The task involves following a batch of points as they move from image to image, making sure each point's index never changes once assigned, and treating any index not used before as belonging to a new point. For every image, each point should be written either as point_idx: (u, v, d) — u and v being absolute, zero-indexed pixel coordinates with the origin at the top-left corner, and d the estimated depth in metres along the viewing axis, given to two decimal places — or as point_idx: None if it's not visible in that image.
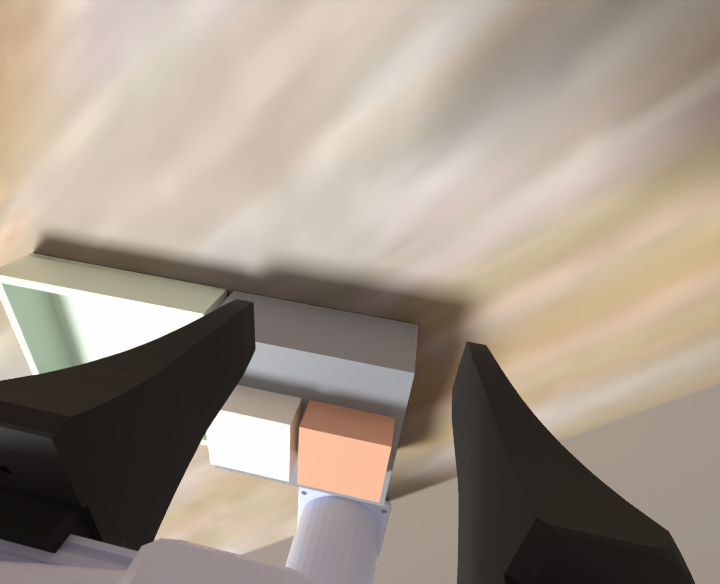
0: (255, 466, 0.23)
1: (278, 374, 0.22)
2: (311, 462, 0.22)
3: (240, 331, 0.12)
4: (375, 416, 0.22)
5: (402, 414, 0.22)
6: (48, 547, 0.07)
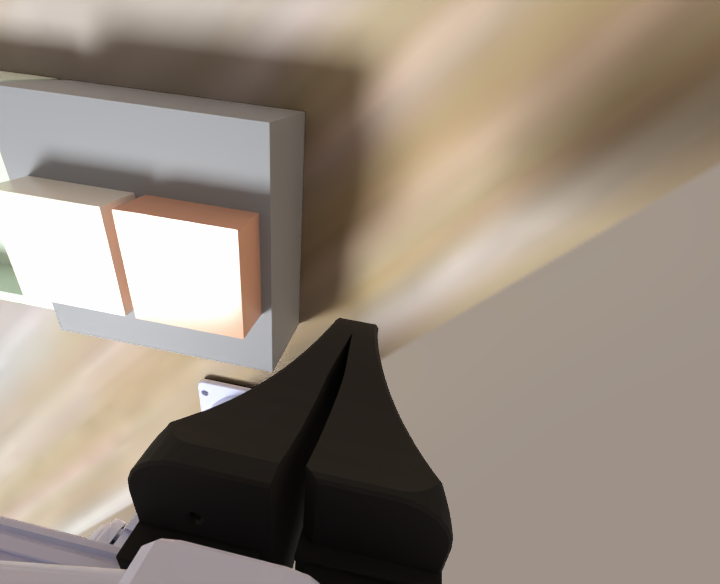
0: (78, 293, 0.17)
1: (96, 152, 0.16)
2: (143, 275, 0.16)
3: None
4: (230, 210, 0.16)
5: (267, 205, 0.16)
6: None
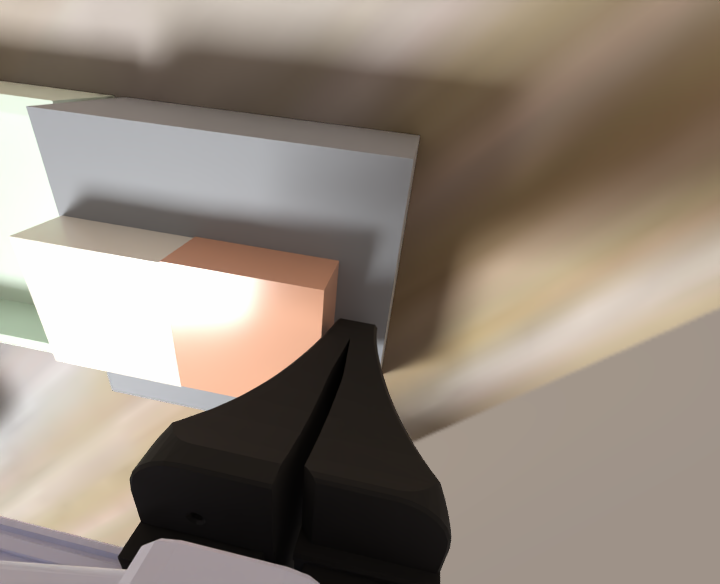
0: (123, 360, 0.14)
1: (176, 192, 0.13)
2: (195, 339, 0.13)
3: None
4: (304, 257, 0.13)
5: (393, 259, 0.12)
6: None
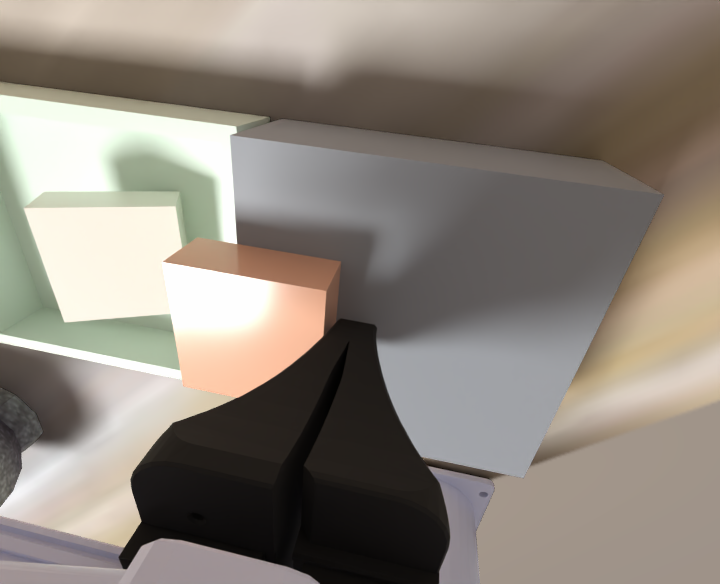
0: None
1: (377, 225, 0.12)
2: (197, 340, 0.13)
3: None
4: (306, 258, 0.13)
5: (609, 295, 0.12)
6: None
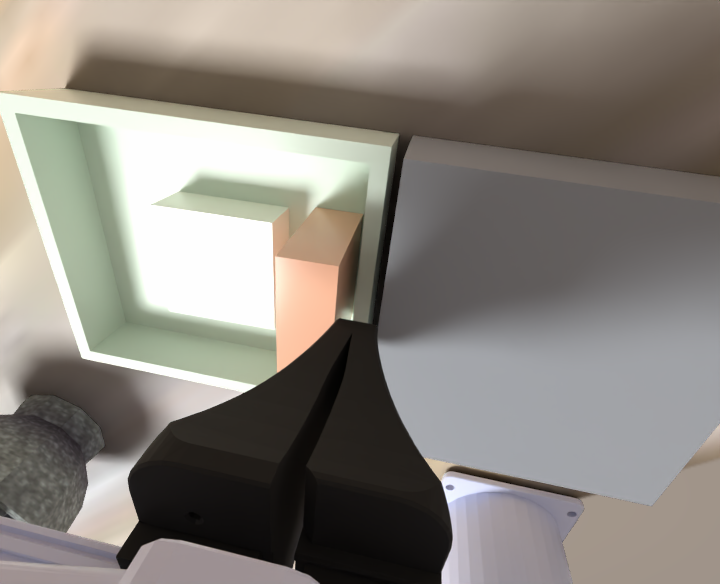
0: None
1: (549, 252, 0.12)
2: None
3: None
4: (339, 250, 0.13)
5: None
6: None
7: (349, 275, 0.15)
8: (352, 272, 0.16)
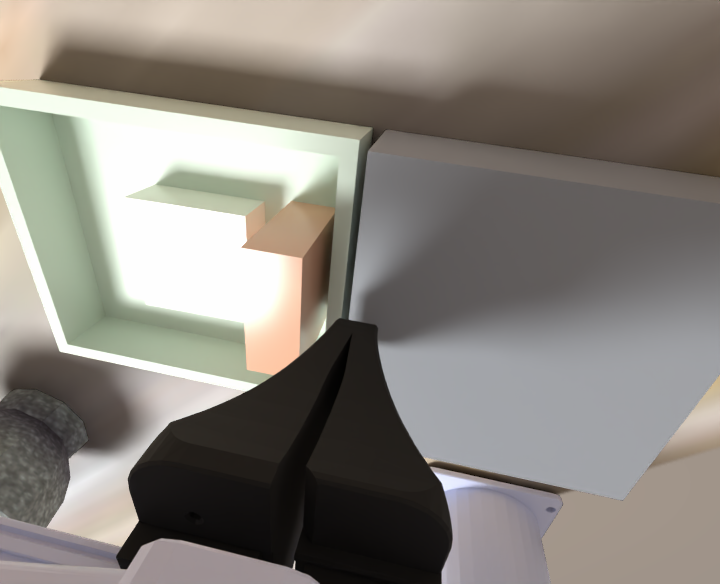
0: None
1: (514, 245, 0.12)
2: None
3: None
4: (306, 243, 0.13)
5: None
6: None
7: (321, 269, 0.15)
8: (326, 266, 0.16)
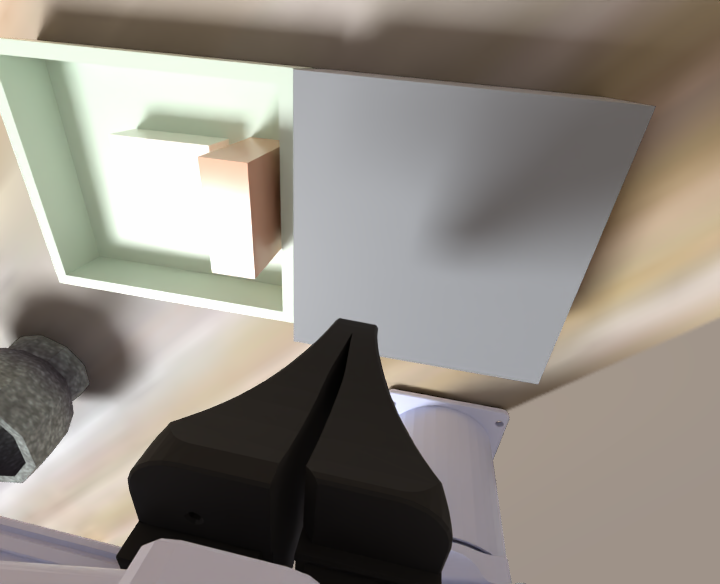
0: None
1: (415, 145, 0.14)
2: None
3: (349, 352, 0.12)
4: (254, 156, 0.16)
5: (611, 201, 0.14)
6: None
7: (274, 188, 0.18)
8: None
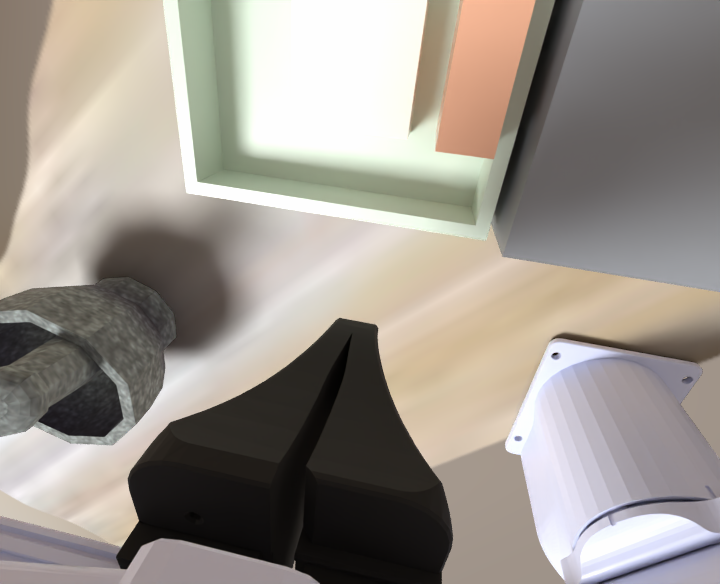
0: None
1: None
2: (446, 74, 0.16)
3: None
4: None
5: None
6: None
7: None
8: None
